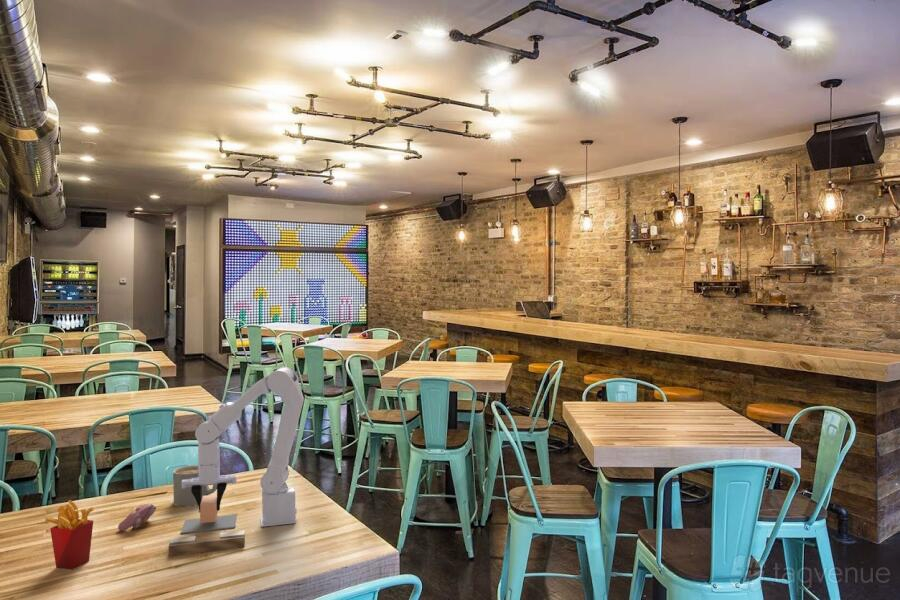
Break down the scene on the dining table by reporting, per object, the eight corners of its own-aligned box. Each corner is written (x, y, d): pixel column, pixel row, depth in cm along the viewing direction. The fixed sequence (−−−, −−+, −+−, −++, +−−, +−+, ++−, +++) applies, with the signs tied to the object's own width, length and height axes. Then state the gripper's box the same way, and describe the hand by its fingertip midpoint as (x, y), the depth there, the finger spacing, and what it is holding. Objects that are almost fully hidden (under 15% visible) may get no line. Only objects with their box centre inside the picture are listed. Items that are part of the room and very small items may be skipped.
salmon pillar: (217, 511, 177) (217, 494, 177) (215, 521, 169) (215, 503, 169) (203, 512, 176) (203, 495, 176) (200, 523, 168) (200, 505, 168)
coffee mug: (166, 505, 189) (166, 473, 189) (187, 494, 198) (186, 464, 198) (204, 508, 186) (204, 475, 186) (223, 497, 195) (223, 466, 195)
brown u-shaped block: (244, 540, 161) (244, 529, 161) (244, 546, 157) (244, 535, 157) (171, 549, 156) (170, 538, 156) (168, 556, 152) (168, 544, 152)
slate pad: (236, 515, 180) (236, 514, 180) (234, 528, 170) (234, 526, 170) (185, 521, 175) (185, 519, 175) (180, 534, 166) (180, 532, 166)
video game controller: (128, 538, 168) (138, 516, 167) (115, 529, 168) (124, 508, 168) (152, 524, 177) (161, 503, 177) (139, 516, 178) (149, 496, 177)
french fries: (95, 559, 151) (94, 499, 150) (67, 574, 142) (66, 511, 142) (66, 556, 153) (65, 497, 152) (36, 571, 144) (35, 508, 144)
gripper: (236, 457, 179) (237, 502, 180) (183, 461, 175) (184, 508, 175) (235, 463, 173) (236, 511, 173) (180, 468, 168) (180, 516, 169)
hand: (209, 510), depth 174 cm, fingers closed on salmon pillar, 4 cm apart
